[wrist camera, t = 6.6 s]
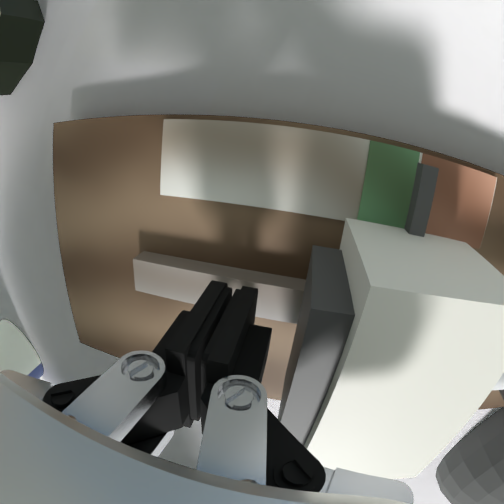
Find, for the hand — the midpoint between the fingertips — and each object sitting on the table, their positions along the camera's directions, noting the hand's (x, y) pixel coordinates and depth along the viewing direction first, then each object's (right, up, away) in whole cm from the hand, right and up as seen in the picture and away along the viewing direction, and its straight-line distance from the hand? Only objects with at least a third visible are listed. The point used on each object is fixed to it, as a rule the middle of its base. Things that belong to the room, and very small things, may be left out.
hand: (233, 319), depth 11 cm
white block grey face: (+9, 0, 0) cm, 8 cm away
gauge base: (+6, +1, +3) cm, 7 cm away
